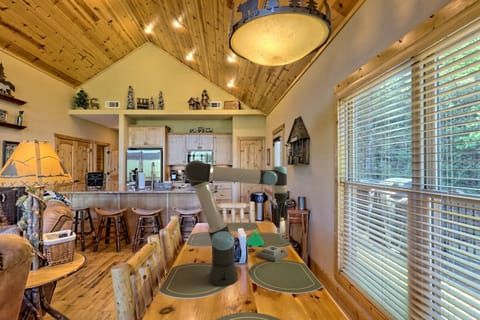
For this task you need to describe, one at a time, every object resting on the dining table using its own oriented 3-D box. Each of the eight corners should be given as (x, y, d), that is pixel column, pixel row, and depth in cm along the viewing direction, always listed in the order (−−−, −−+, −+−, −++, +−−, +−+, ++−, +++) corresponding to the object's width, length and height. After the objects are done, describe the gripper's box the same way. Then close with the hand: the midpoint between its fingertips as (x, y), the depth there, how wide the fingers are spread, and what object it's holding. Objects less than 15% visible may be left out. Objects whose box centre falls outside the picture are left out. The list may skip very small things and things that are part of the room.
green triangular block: (263, 243, 191) (262, 229, 191) (263, 246, 184) (263, 232, 184) (247, 243, 192) (246, 229, 192) (247, 246, 184) (247, 232, 184)
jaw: (281, 236, 149) (281, 218, 149) (276, 235, 151) (276, 218, 151) (285, 234, 152) (285, 217, 152) (280, 233, 154) (279, 217, 154)
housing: (275, 262, 156) (275, 254, 156) (257, 256, 165) (257, 248, 165) (287, 255, 166) (287, 247, 166) (269, 250, 175) (269, 243, 175)
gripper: (277, 194, 143) (278, 236, 143) (293, 191, 155) (293, 230, 155) (267, 193, 148) (267, 233, 148) (282, 190, 160) (283, 228, 160)
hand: (280, 231), depth 151 cm, fingers closed on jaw, 3 cm apart
